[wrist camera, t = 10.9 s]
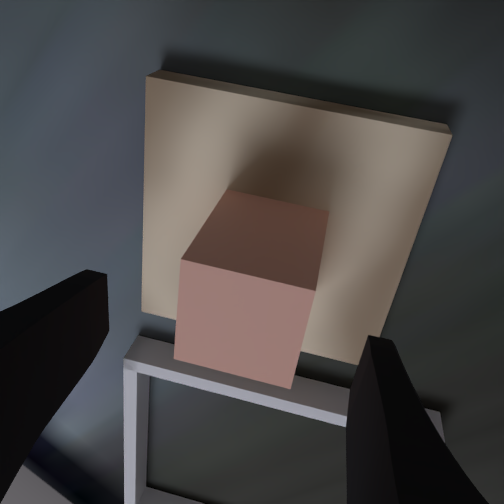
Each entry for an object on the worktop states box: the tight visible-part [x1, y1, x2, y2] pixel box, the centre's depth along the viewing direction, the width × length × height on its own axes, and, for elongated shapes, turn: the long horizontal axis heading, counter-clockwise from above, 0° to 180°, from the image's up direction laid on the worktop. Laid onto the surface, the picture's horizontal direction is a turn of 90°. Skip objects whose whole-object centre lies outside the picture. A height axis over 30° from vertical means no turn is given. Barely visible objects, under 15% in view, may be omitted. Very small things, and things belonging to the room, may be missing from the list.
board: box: [142, 70, 452, 365], centre depth 22 cm, size 12×12×2 cm
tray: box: [123, 335, 445, 504], centre depth 31 cm, size 18×16×2 cm
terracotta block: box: [174, 189, 329, 389], centre depth 19 cm, size 4×4×6 cm
